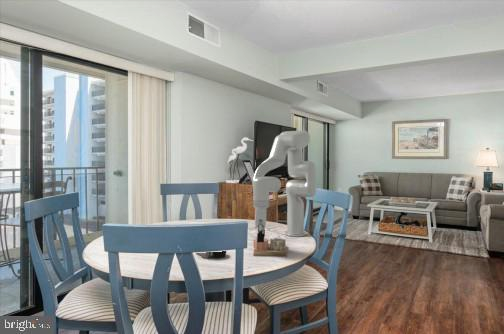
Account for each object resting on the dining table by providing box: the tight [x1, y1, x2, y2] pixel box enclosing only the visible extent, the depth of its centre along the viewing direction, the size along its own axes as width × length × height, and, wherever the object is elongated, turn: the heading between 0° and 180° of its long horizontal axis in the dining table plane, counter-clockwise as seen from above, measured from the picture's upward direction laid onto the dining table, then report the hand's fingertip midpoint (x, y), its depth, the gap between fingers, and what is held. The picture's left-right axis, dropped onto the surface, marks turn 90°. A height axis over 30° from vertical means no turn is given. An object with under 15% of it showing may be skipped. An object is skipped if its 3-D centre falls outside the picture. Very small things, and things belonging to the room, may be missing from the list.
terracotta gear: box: [253, 237, 269, 250], centre depth 164 cm, size 7×7×4 cm
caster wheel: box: [195, 250, 227, 260], centre depth 155 cm, size 7×11×10 cm
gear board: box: [253, 237, 288, 258], centre depth 164 cm, size 18×15×6 cm
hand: (261, 239), depth 164 cm, fingers open, 9 cm apart
